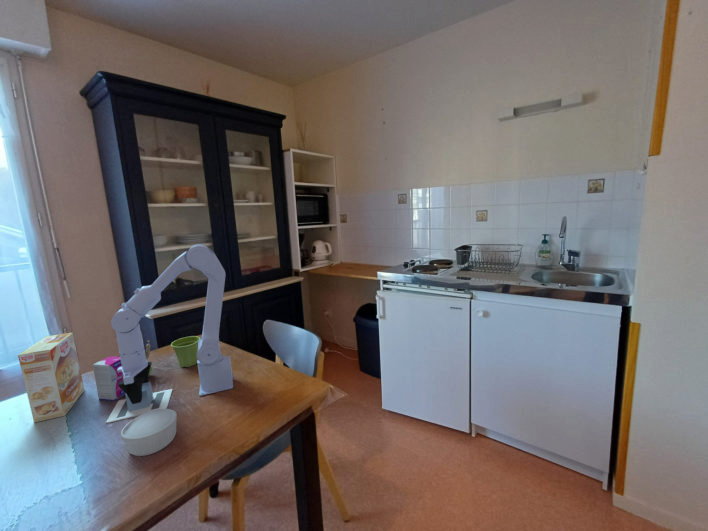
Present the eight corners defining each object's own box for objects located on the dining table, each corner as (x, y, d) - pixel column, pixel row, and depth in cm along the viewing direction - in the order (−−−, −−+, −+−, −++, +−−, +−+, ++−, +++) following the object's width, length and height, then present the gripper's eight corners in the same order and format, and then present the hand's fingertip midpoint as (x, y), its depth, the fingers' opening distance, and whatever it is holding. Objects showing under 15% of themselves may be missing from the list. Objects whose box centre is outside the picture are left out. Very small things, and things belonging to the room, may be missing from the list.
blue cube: (153, 397, 95) (150, 381, 94) (149, 406, 90) (146, 390, 89) (133, 401, 93) (130, 386, 92) (128, 411, 88) (125, 394, 87)
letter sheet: (172, 389, 99) (172, 388, 99) (166, 409, 89) (166, 408, 89) (118, 401, 94) (118, 400, 94) (106, 423, 84) (105, 422, 84)
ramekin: (127, 437, 78) (123, 418, 77) (179, 421, 83) (176, 402, 83) (121, 468, 68) (117, 446, 68) (180, 447, 74) (177, 426, 73)
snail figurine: (159, 374, 109) (153, 341, 107) (138, 383, 104) (132, 349, 102) (151, 371, 112) (145, 338, 110) (130, 379, 107) (124, 346, 105)
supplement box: (114, 401, 94) (107, 365, 92) (98, 400, 95) (90, 364, 93) (131, 390, 100) (125, 356, 98) (116, 389, 101) (109, 355, 99)
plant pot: (208, 362, 117) (204, 339, 115) (180, 372, 110) (176, 349, 108) (196, 355, 123) (193, 334, 121) (170, 365, 116) (166, 342, 114)
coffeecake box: (65, 416, 88) (50, 349, 85) (32, 423, 86) (15, 355, 83) (86, 389, 102) (73, 331, 99) (57, 395, 99) (44, 336, 96)
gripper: (122, 343, 94) (130, 386, 96) (105, 364, 81) (115, 413, 83) (150, 339, 97) (157, 380, 99) (138, 358, 83) (147, 406, 85)
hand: (140, 395), depth 91 cm, fingers open, 7 cm apart
